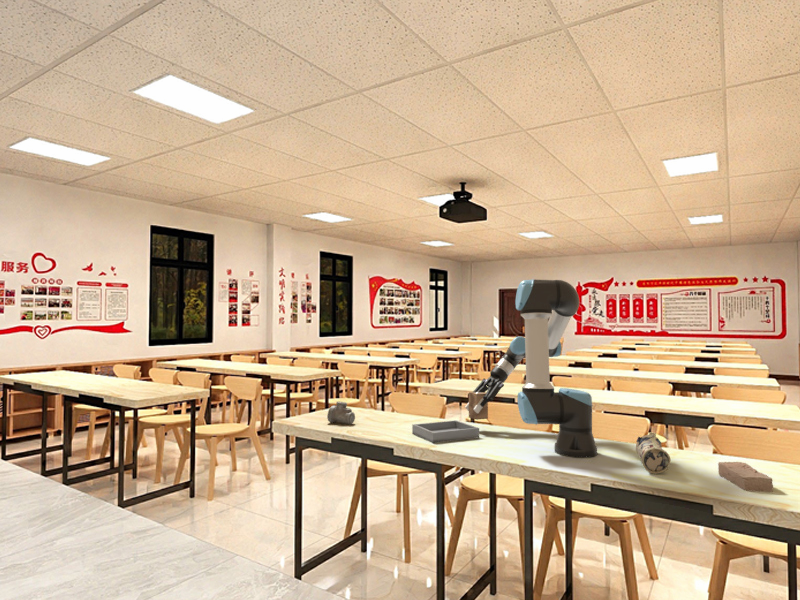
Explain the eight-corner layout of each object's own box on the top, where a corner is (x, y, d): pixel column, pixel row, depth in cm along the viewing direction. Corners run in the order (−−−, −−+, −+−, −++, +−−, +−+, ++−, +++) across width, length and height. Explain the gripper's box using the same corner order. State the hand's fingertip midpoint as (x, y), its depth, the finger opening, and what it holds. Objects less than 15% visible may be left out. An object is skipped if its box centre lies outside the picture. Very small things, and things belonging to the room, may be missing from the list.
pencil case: (635, 457, 191) (635, 430, 191) (661, 460, 188) (661, 432, 189) (642, 475, 170) (641, 444, 171) (671, 477, 168) (671, 446, 168)
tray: (479, 437, 220) (479, 428, 220) (433, 443, 211) (433, 432, 211) (456, 429, 237) (456, 420, 237) (412, 433, 227) (412, 424, 227)
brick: (775, 493, 154) (774, 476, 154) (744, 492, 155) (744, 475, 155) (744, 476, 170) (744, 461, 170) (717, 475, 171) (716, 460, 171)
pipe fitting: (325, 422, 247) (328, 400, 248) (334, 421, 254) (338, 399, 255) (346, 428, 241) (349, 406, 242) (355, 426, 248) (359, 404, 249)
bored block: (487, 418, 232) (487, 393, 233) (476, 419, 230) (476, 393, 230) (480, 416, 238) (479, 391, 238) (468, 417, 235) (468, 392, 235)
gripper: (519, 379, 233) (489, 419, 225) (493, 375, 250) (464, 412, 242) (509, 367, 231) (478, 407, 223) (484, 364, 248) (454, 401, 240)
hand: (471, 410), depth 232 cm, fingers closed on bored block, 6 cm apart
